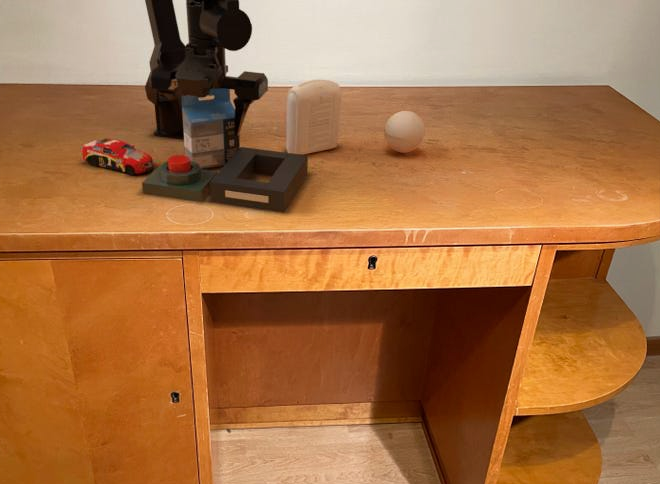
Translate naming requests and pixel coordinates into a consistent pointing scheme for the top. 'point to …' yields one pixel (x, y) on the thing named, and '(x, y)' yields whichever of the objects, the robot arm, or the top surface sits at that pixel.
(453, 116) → the top surface
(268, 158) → the dark grey rectangular frame
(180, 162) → the button
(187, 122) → the tape cartridge
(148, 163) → the race car
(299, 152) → the cream rounded slab
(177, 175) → the button box
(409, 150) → the seamed sphere
